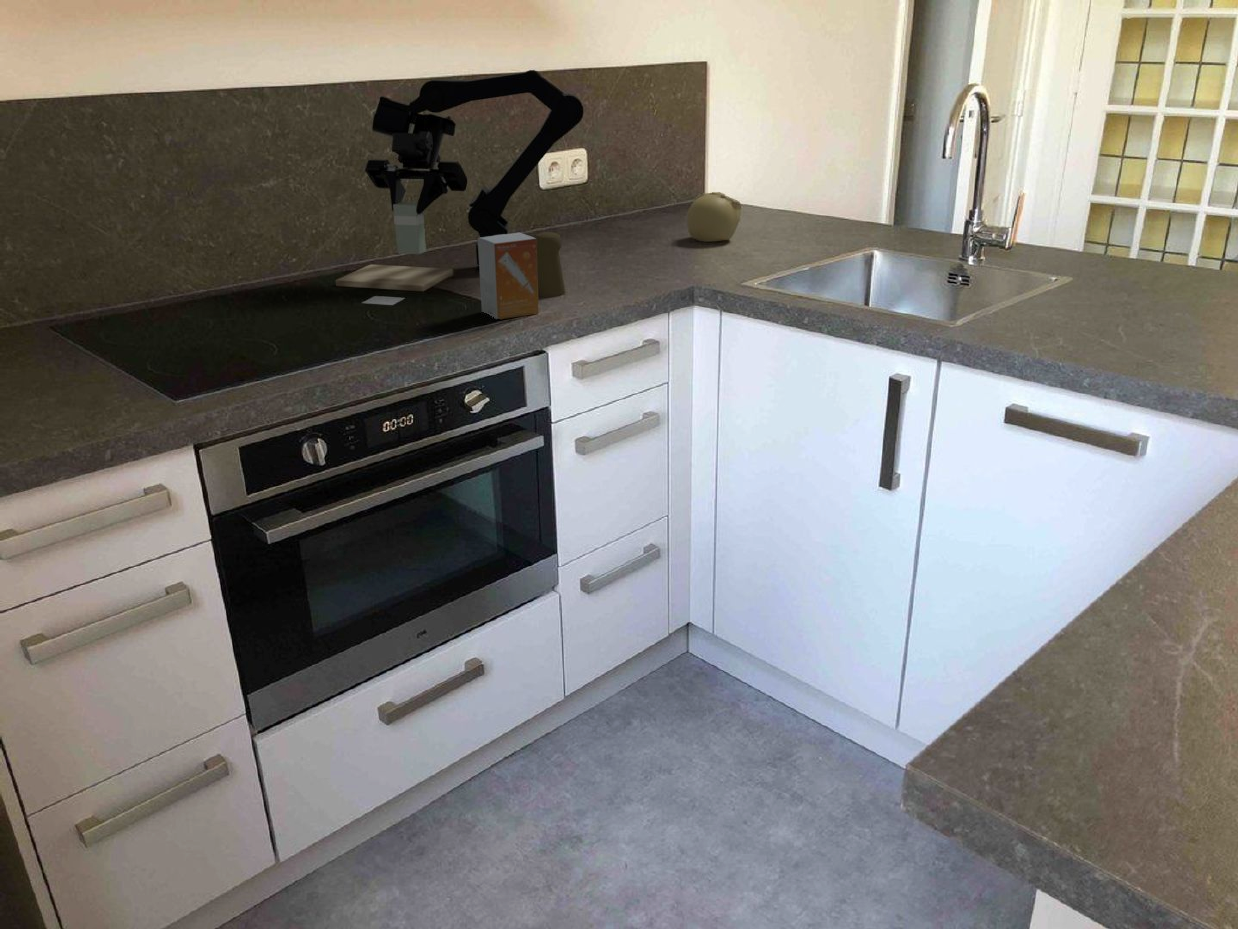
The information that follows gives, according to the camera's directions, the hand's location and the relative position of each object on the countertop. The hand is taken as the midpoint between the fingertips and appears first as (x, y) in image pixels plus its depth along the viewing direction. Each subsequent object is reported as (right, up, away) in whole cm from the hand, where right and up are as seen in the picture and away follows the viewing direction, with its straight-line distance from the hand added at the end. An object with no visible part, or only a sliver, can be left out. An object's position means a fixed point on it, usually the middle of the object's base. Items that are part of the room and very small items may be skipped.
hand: (405, 212), depth 184 cm
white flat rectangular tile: (-3, -18, -6) cm, 19 cm away
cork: (+27, -15, -1) cm, 31 cm away
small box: (+21, -21, -14) cm, 33 cm away
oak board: (-4, -11, +8) cm, 14 cm away
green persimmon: (+61, +4, +42) cm, 75 cm away
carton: (0, -7, +4) cm, 8 cm away
